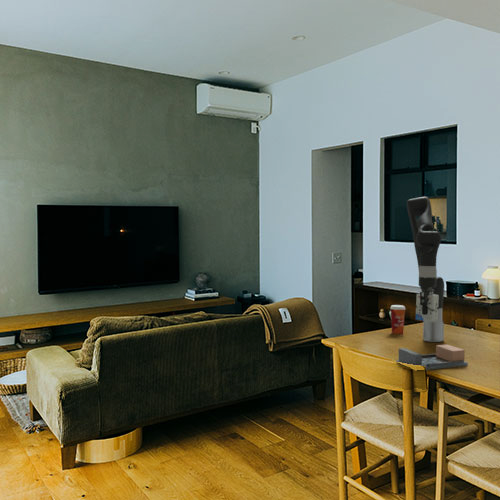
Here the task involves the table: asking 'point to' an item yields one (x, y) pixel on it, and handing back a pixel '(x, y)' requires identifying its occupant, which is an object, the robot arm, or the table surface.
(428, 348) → the table surface
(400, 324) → the coffee cup
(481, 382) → the table surface
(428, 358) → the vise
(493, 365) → the table surface
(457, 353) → the pink rectangular block
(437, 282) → the robot arm
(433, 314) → the ink box
